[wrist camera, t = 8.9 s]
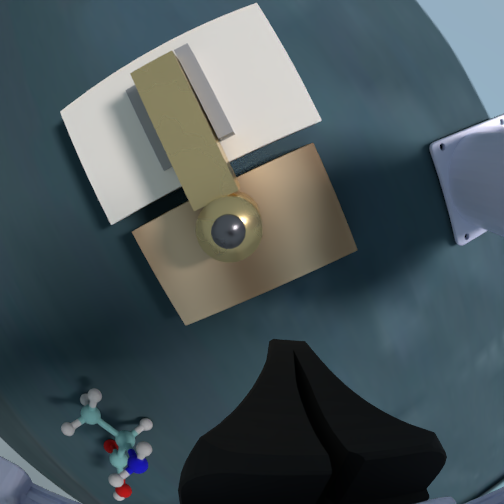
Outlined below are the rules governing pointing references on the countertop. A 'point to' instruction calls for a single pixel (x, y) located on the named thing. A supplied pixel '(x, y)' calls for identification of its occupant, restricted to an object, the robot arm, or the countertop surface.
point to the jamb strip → (270, 248)
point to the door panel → (211, 97)
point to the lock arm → (199, 161)
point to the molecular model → (115, 443)
